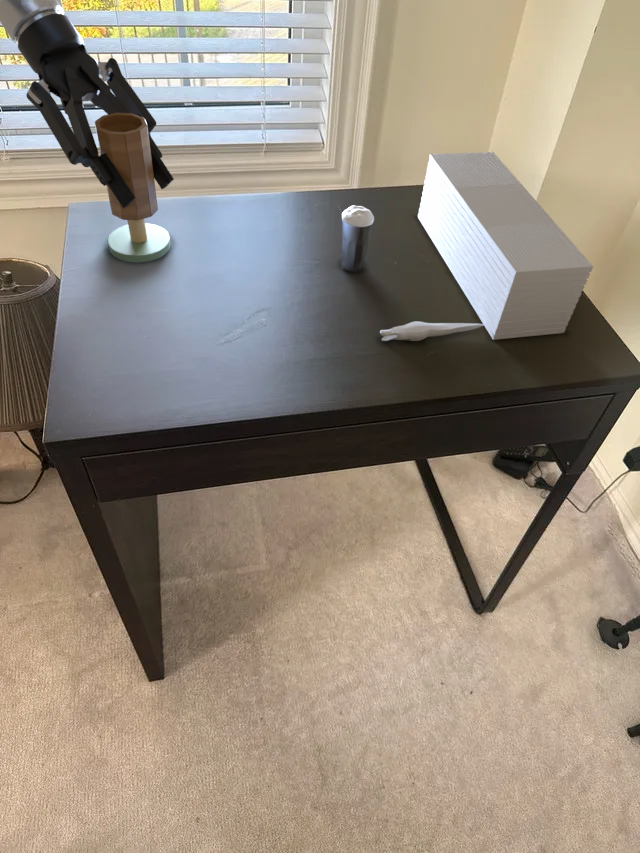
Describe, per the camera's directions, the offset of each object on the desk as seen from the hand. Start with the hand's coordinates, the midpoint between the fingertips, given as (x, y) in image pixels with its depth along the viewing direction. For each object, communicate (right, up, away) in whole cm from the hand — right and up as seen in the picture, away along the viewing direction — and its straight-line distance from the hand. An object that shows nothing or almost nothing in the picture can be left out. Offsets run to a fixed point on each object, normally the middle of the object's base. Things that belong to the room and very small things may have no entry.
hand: (148, 193), depth 88 cm
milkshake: (+28, -8, +8) cm, 30 cm away
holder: (-4, -5, +8) cm, 10 cm away
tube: (-3, -1, +4) cm, 5 cm away
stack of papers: (+48, -8, +10) cm, 50 cm away
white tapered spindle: (+38, -20, -1) cm, 43 cm away
